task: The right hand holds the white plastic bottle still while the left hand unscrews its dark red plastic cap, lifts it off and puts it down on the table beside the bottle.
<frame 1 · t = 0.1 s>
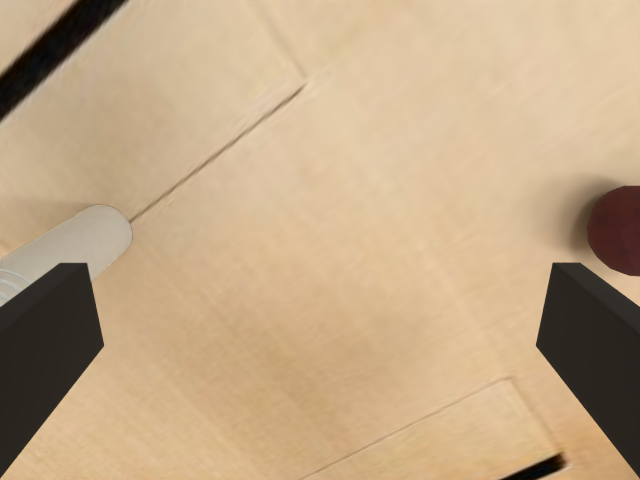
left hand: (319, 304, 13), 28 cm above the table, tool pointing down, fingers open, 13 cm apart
dark maroon ball: (609, 216, 41), on the table
bottle: (104, 231, 42), on the table
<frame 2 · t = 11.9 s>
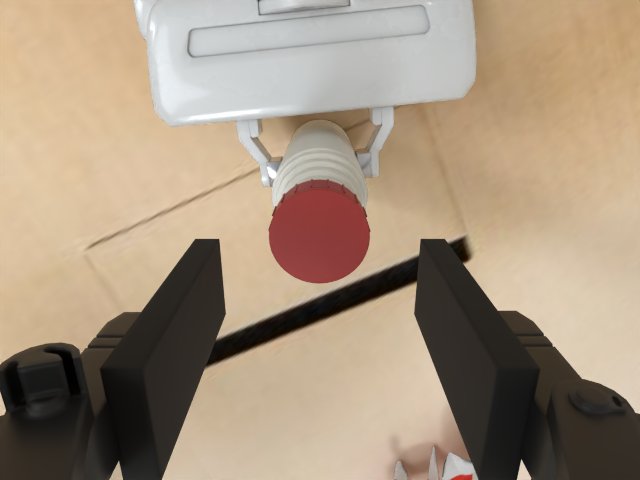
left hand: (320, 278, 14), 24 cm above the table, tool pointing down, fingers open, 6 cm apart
right hand: (321, 180, 31), fingers closed on bottle, 5 cm apart
fish: (434, 455, 49), on the table
cap: (319, 235, 18), point 20 cm above the table, screwed on, not yet turned
bottle: (319, 151, 37), on the table, touching right hand
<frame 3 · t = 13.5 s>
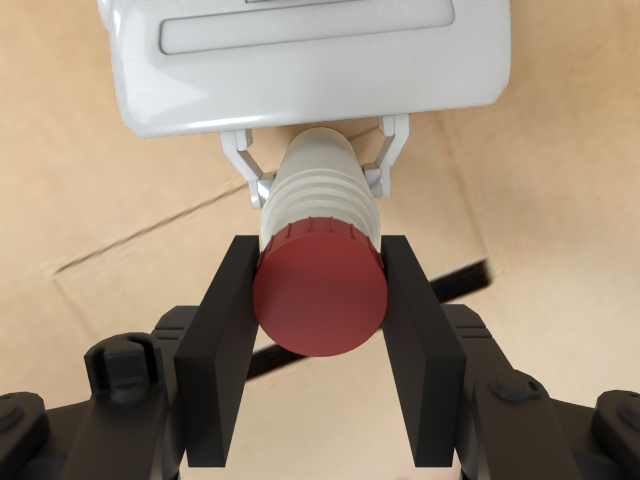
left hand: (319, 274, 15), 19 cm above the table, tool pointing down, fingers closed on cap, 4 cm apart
right hand: (322, 200, 26), fingers closed on bottle, 5 cm apart
cap: (320, 294, 13), point 20 cm above the table, screwed on, not yet turned, touching left hand
bottle: (320, 163, 32), on the table, touching right hand
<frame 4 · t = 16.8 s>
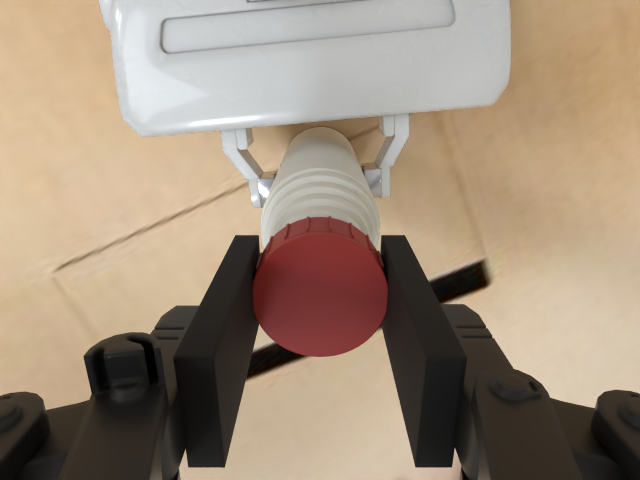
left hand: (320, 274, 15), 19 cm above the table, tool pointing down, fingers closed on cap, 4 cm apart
right hand: (322, 200, 26), fingers closed on bottle, 5 cm apart
cap: (320, 294, 13), point 20 cm above the table, turned 97° so far, risen 0.1 cm, still on its thread, touching left hand
bottle: (320, 163, 32), on the table, touching right hand
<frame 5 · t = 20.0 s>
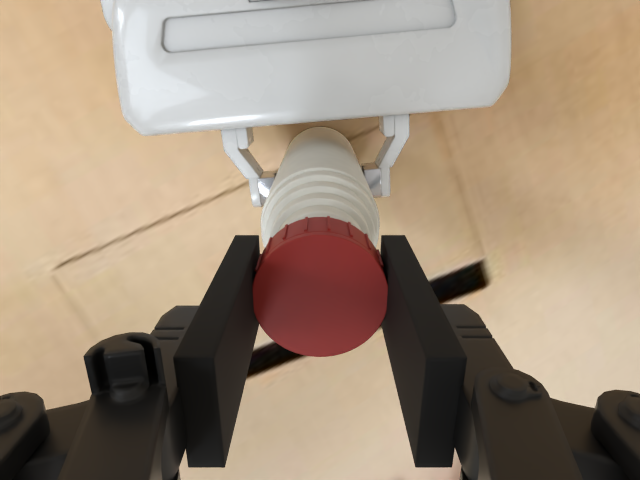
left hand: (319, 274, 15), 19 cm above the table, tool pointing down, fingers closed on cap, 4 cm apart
right hand: (322, 199, 26), fingers closed on bottle, 5 cm apart
cap: (320, 294, 13), point 20 cm above the table, turned 193° so far, risen 0.2 cm, still on its thread, touching left hand
bottle: (320, 162, 32), on the table, touching right hand
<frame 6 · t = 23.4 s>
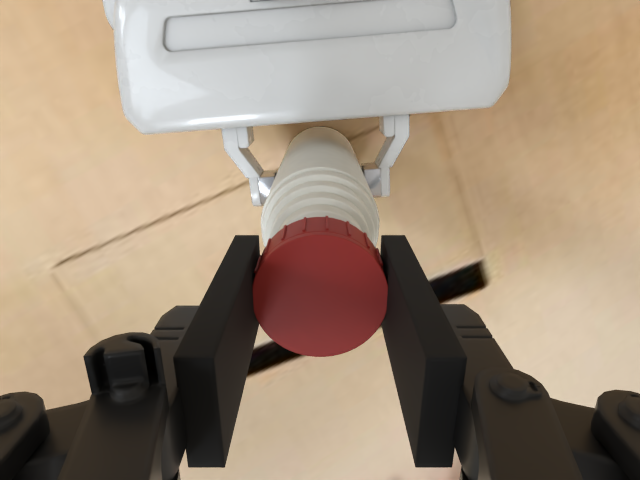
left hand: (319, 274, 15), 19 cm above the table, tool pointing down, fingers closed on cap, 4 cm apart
right hand: (321, 199, 26), fingers closed on bottle, 5 cm apart
cap: (320, 294, 13), point 20 cm above the table, turned 290° so far, risen 0.3 cm, still on its thread, touching left hand
bottle: (320, 162, 32), on the table, touching right hand
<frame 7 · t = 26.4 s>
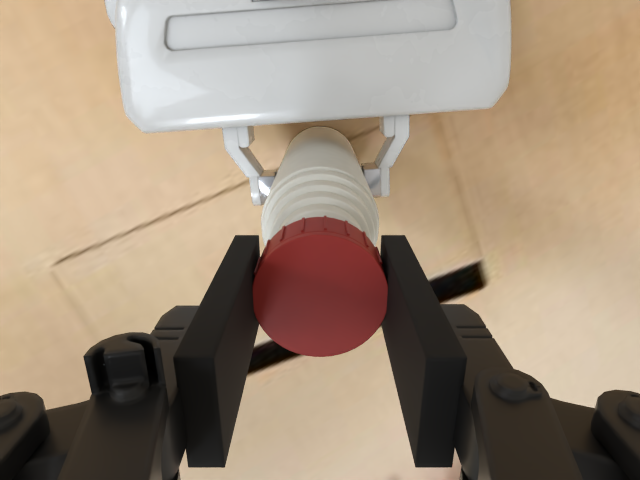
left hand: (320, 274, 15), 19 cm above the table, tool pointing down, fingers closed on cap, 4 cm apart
right hand: (321, 198, 27), fingers closed on bottle, 5 cm apart
cap: (320, 294, 13), point 21 cm above the table, turned 386° so far, risen 0.4 cm, still on its thread, touching left hand
bottle: (320, 162, 33), on the table, touching right hand
when the left hand's fingers open (2 cm above the table, at t = 33.1 s): cap drops 2 cm, point 1 cm above the table.
when the right hand's fingers open (7 cm above the table, at t = 34.5 s): bottle stays where it is, on the table.
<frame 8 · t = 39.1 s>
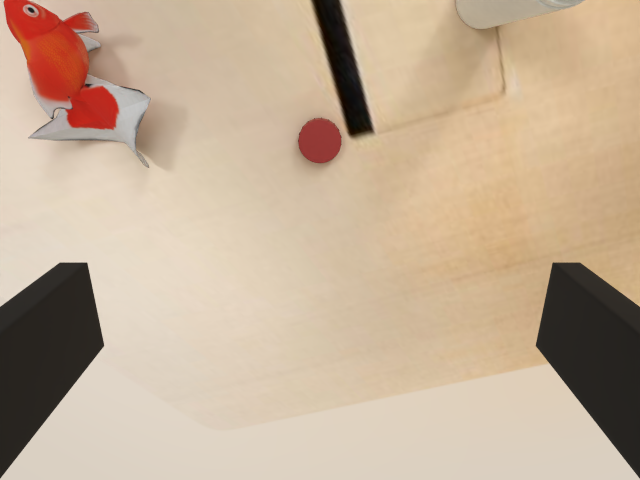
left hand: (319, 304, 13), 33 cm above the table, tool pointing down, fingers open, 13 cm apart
fish: (109, 90, 42), on the table
cap: (319, 141, 43), point 1 cm above the table, off its thread
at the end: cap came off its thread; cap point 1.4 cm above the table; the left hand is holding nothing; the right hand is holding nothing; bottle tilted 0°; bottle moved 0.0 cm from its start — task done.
